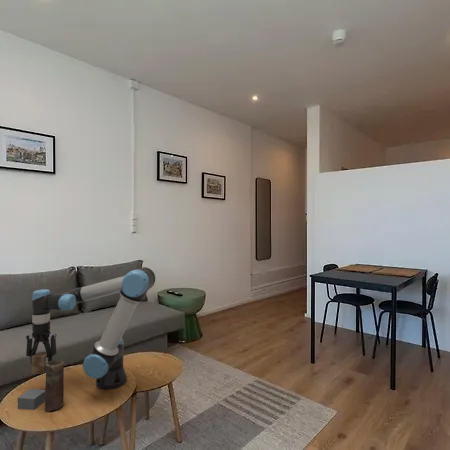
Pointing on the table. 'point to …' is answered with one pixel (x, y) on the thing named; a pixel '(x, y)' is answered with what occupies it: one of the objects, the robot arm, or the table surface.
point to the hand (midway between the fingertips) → (41, 370)
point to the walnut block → (39, 363)
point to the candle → (54, 385)
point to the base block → (31, 399)
